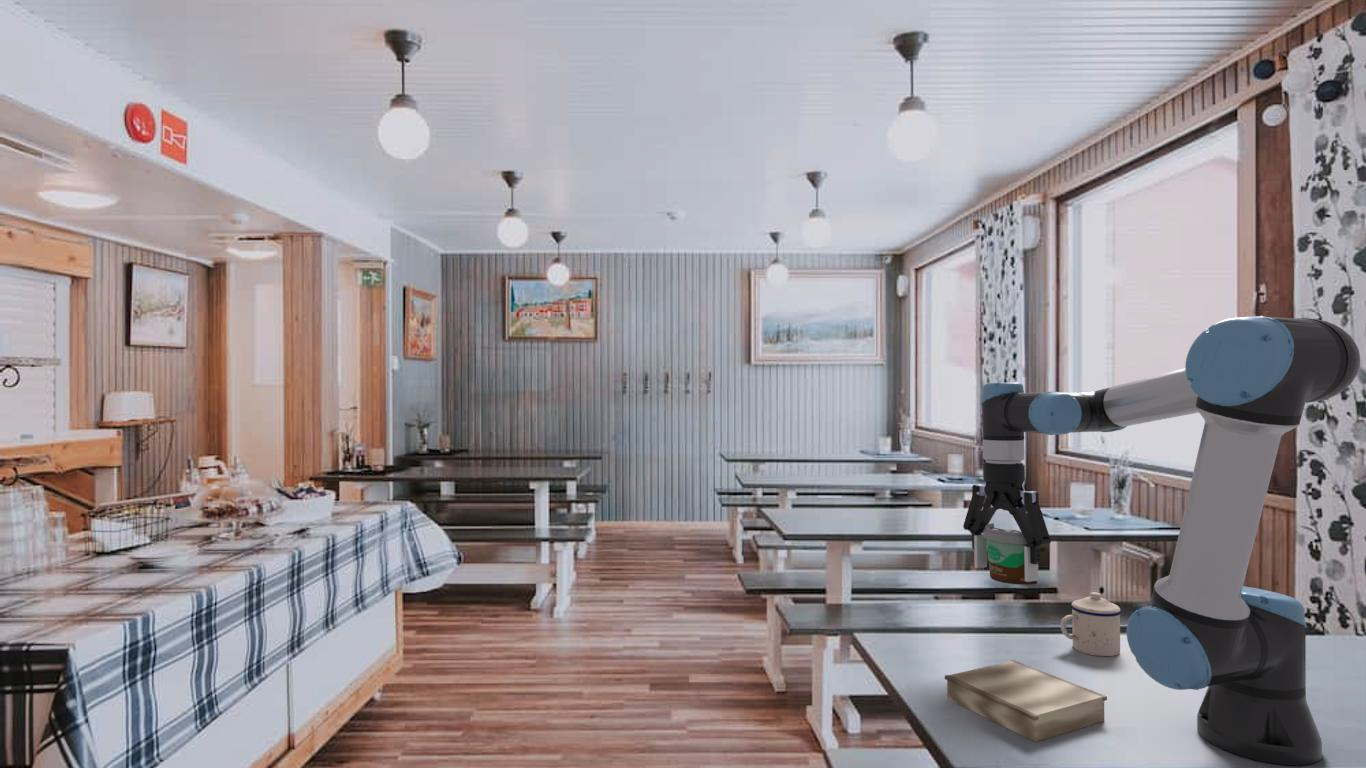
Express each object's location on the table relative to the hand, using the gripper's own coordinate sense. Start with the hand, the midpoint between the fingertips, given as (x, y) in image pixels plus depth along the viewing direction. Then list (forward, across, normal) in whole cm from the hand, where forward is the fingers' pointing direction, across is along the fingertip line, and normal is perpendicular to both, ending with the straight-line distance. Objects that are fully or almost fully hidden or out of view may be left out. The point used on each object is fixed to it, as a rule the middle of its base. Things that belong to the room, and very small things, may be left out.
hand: (1005, 573), depth 147 cm
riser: (+18, -15, +13) cm, 27 cm away
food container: (+1, 0, 0) cm, 1 cm away
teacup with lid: (+18, -1, -23) cm, 29 cm away
